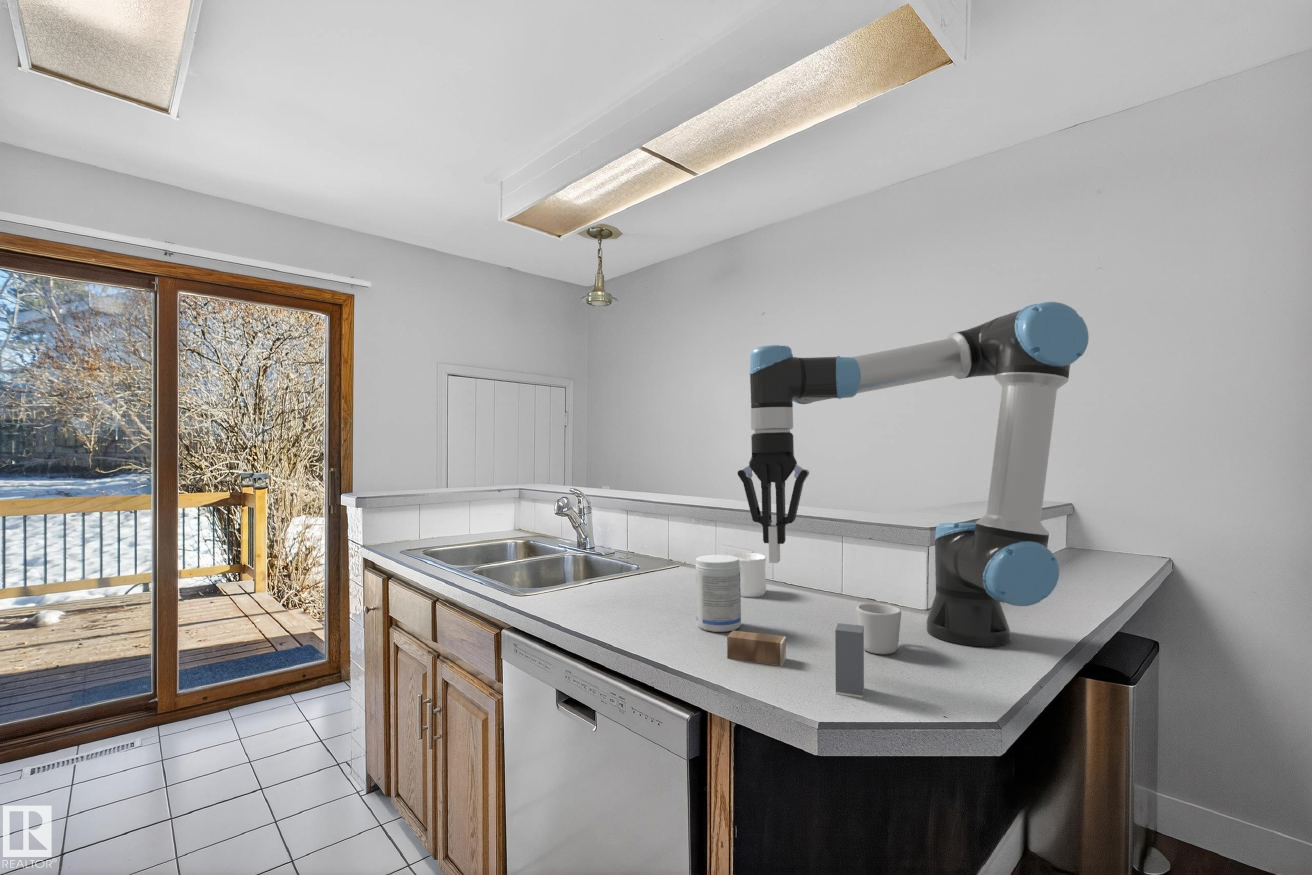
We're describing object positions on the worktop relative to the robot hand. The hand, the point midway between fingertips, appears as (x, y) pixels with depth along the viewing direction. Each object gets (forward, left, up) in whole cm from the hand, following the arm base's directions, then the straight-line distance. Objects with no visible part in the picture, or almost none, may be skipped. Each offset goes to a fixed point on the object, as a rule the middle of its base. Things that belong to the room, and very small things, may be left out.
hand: (774, 561), depth 111 cm
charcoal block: (-14, +9, -18) cm, 24 cm away
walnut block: (-2, 0, -16) cm, 16 cm away
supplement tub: (+15, -16, -18) cm, 29 cm away
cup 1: (+16, -47, -18) cm, 53 cm away
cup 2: (-18, -14, -18) cm, 29 cm away
